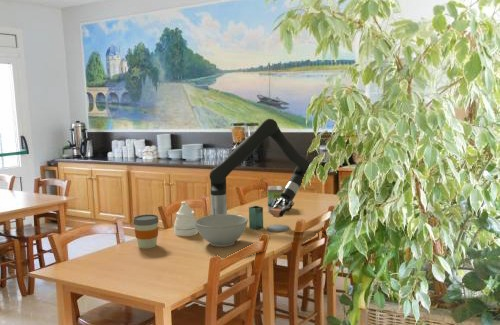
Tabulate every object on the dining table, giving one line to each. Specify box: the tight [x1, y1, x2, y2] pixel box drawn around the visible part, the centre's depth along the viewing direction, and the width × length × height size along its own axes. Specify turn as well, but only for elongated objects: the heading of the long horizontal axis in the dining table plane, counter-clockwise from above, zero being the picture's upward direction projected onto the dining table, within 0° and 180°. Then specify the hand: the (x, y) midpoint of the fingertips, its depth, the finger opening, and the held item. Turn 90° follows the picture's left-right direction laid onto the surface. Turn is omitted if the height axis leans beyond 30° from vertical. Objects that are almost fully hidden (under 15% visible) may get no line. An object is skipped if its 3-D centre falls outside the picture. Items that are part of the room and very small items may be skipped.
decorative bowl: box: [195, 213, 249, 248], centre depth 253 cm, size 27×27×12 cm
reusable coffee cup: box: [133, 214, 159, 249], centre depth 251 cm, size 13×13×15 cm
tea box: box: [266, 185, 284, 212], centre depth 326 cm, size 15×10×15 cm, turn 179°
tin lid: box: [269, 208, 287, 218], centre depth 276 cm, size 6×6×4 cm
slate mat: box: [266, 224, 291, 233], centre depth 278 cm, size 13×13×1 cm
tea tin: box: [248, 205, 264, 230], centre depth 281 cm, size 6×6×12 cm
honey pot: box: [173, 201, 199, 237], centre depth 274 cm, size 13×13×18 cm
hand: (275, 215), depth 275 cm, fingers closed on tin lid, 6 cm apart
